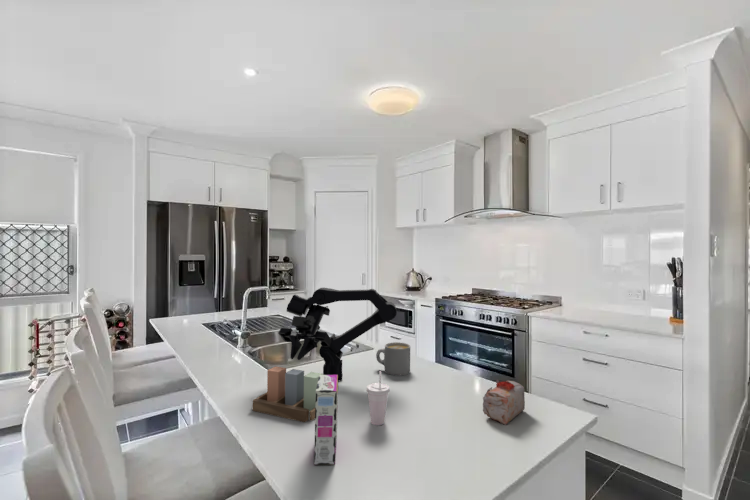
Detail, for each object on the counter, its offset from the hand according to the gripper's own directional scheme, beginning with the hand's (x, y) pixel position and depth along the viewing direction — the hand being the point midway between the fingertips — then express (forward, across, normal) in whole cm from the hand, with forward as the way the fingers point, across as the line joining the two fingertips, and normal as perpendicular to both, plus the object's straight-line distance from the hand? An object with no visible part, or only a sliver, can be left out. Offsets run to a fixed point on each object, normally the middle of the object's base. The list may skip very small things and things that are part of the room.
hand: (294, 358), depth 121 cm
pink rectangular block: (+14, 0, +1) cm, 14 cm away
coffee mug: (-15, +24, +31) cm, 42 cm away
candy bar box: (+27, +28, -12) cm, 41 cm away
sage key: (+14, +13, +1) cm, 19 cm away
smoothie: (+14, +34, +1) cm, 36 cm away
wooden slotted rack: (+16, +7, -1) cm, 18 cm away
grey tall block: (+14, +7, +1) cm, 16 cm away
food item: (+2, +66, +14) cm, 67 cm away
